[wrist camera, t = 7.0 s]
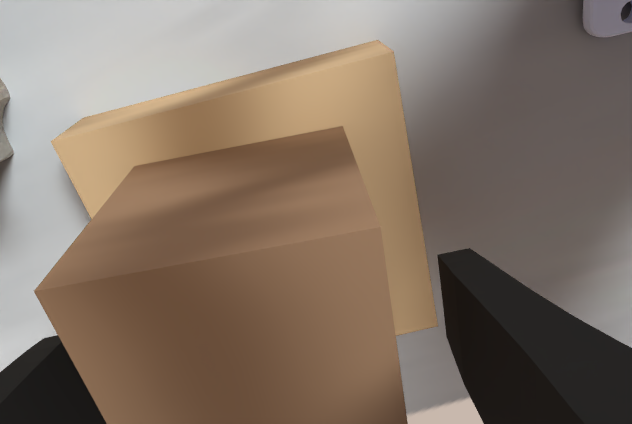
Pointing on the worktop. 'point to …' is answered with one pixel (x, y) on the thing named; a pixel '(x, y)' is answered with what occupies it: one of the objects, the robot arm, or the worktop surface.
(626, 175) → the worktop surface
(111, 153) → the board
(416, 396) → the worktop surface
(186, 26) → the worktop surface
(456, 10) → the worktop surface
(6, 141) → the egg carton
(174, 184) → the walnut cube
